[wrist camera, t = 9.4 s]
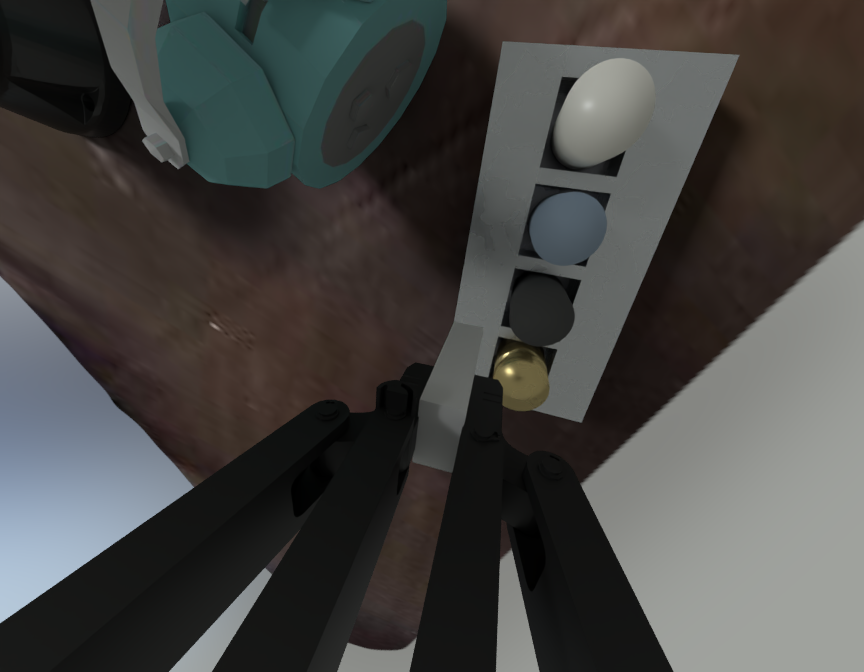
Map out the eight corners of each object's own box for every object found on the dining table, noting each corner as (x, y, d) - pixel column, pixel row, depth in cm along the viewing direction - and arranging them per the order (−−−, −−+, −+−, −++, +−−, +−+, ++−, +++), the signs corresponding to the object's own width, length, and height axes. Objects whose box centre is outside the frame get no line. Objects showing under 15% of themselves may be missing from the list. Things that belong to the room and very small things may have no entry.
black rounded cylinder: (506, 313, 29) (503, 339, 23) (518, 265, 27) (517, 282, 22) (555, 323, 28) (563, 352, 23) (570, 275, 26) (583, 295, 21)
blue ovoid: (522, 247, 26) (523, 259, 21) (536, 189, 24) (541, 187, 19) (577, 256, 25) (592, 271, 20) (596, 197, 24) (618, 197, 18)
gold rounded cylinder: (492, 368, 31) (486, 403, 26) (502, 329, 29) (498, 357, 24) (537, 379, 31) (540, 417, 25) (550, 339, 29) (556, 371, 23)
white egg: (543, 165, 23) (550, 155, 18) (561, 91, 21) (576, 55, 16) (606, 173, 22) (634, 165, 17) (632, 97, 20) (671, 61, 15)
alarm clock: (399, -83, 22) (-147, -1365, 4) (491, 30, 23) (391, -572, 5) (283, 135, 29) (-75, 38, 12) (356, 212, 31) (129, 229, 13)
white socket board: (451, 365, 34) (442, 386, 30) (505, 68, 23) (502, 41, 19) (573, 395, 32) (581, 422, 28) (698, 82, 21) (739, 55, 17)
